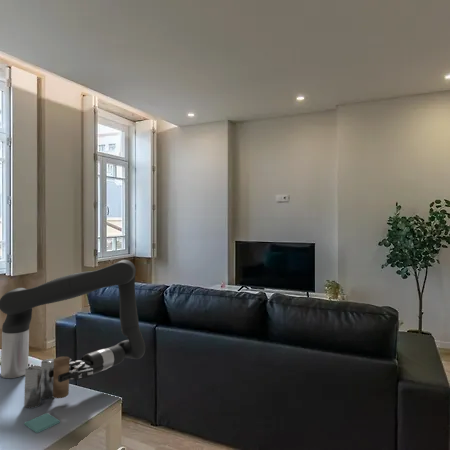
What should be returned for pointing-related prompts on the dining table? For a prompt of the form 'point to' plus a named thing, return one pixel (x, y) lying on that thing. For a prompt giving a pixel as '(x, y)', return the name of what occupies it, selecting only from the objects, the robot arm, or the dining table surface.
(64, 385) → the cylinder
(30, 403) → the silver tall tapered cylinder
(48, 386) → the shiny grey metal cylinder
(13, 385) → the dining table surface
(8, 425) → the dining table surface
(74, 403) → the dining table surface
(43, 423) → the teal mat
